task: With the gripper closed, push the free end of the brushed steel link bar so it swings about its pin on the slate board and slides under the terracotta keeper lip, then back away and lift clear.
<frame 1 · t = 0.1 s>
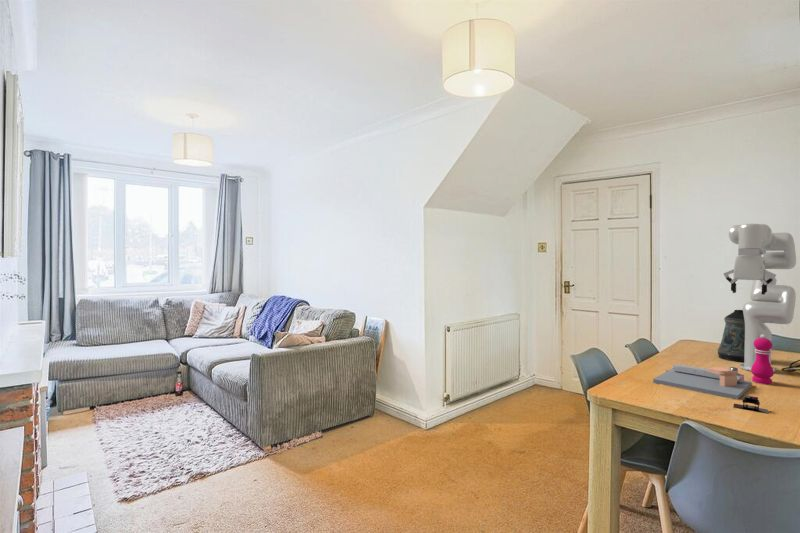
hand: (748, 293, 182), 37 cm above the table, tool pointing down, fingers open, 9 cm apart
slate board: (701, 383, 176), on the table
pepper mill: (761, 382, 179), on the table
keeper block: (733, 385, 175), resting on slate board
dark piece: (750, 410, 148), on the table
steel link: (707, 369, 181), point 4 cm above the table, hinge at 0.0°
beer stein: (739, 359, 219), on the table
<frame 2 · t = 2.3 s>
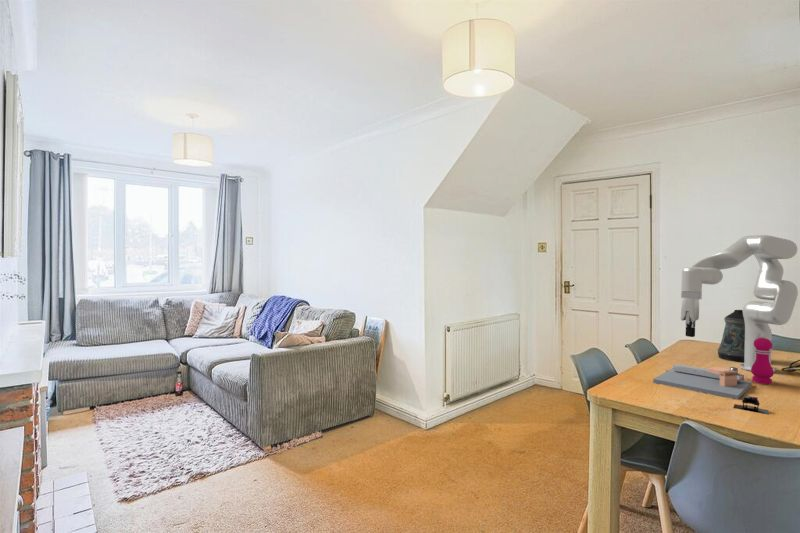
hand: (690, 336, 192), 17 cm above the table, tool pointing down, fingers closed
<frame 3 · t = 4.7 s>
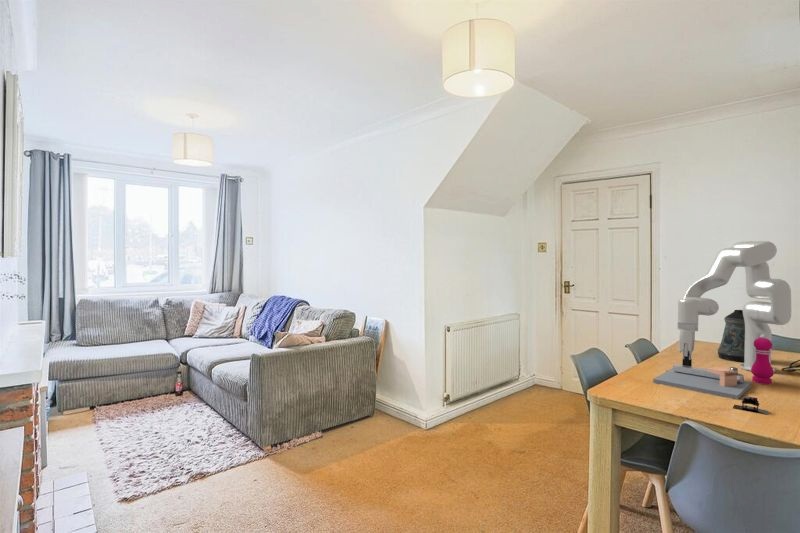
hand: (686, 367, 189), 3 cm above the table, tool pointing down, fingers closed
steel link: (707, 369, 181), point 4 cm above the table, hinge at 2.0°, touching gripper
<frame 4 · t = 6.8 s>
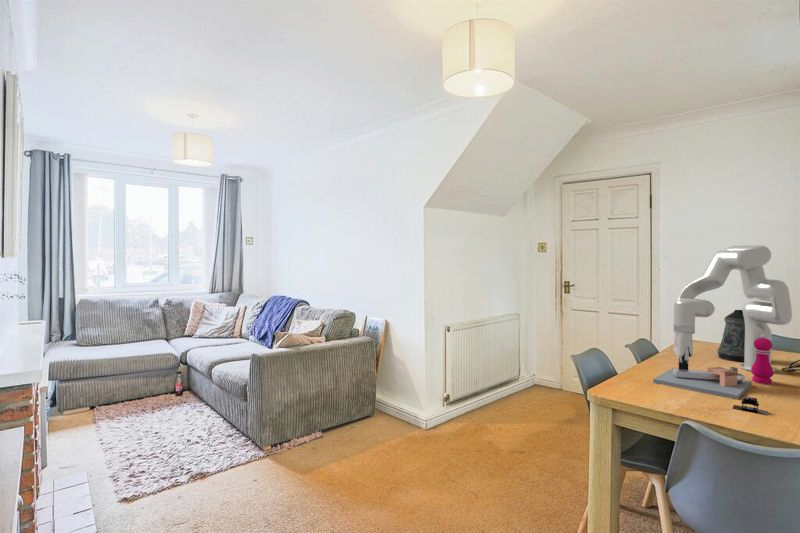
hand: (683, 371, 183), 3 cm above the table, tool pointing down, fingers closed
steel link: (707, 372, 177), point 4 cm above the table, hinge at 29.9°, touching gripper
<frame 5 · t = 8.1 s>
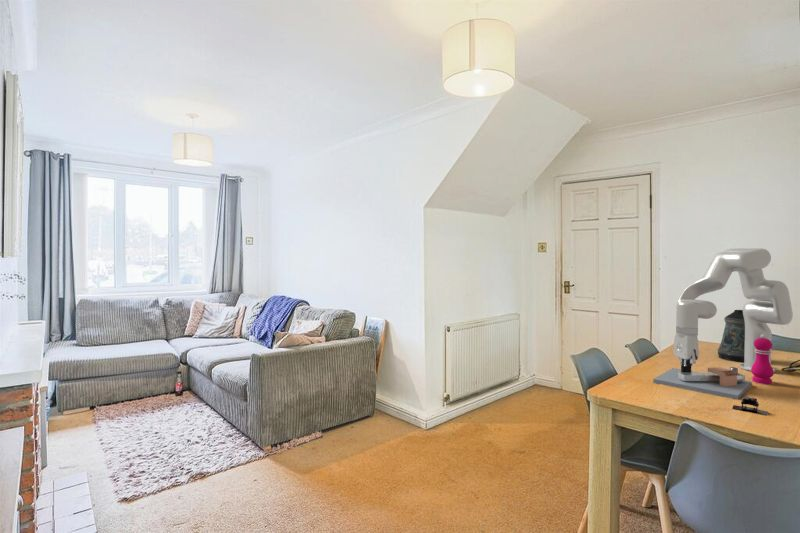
hand: (686, 374, 179), 3 cm above the table, tool pointing down, fingers closed
steel link: (711, 373, 175), point 4 cm above the table, hinge at 46.4°, touching gripper
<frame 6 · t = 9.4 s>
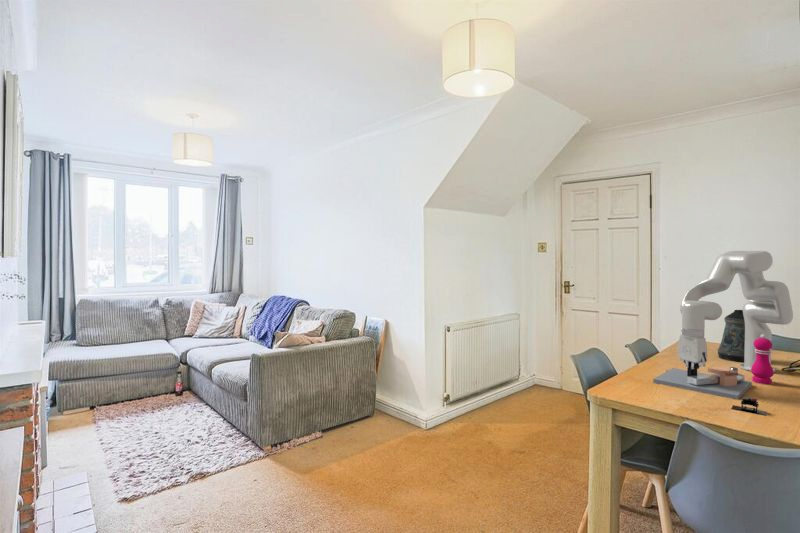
hand: (692, 377, 174), 3 cm above the table, tool pointing down, fingers closed
steel link: (716, 375, 172), point 4 cm above the table, hinge at 61.6°, touching gripper
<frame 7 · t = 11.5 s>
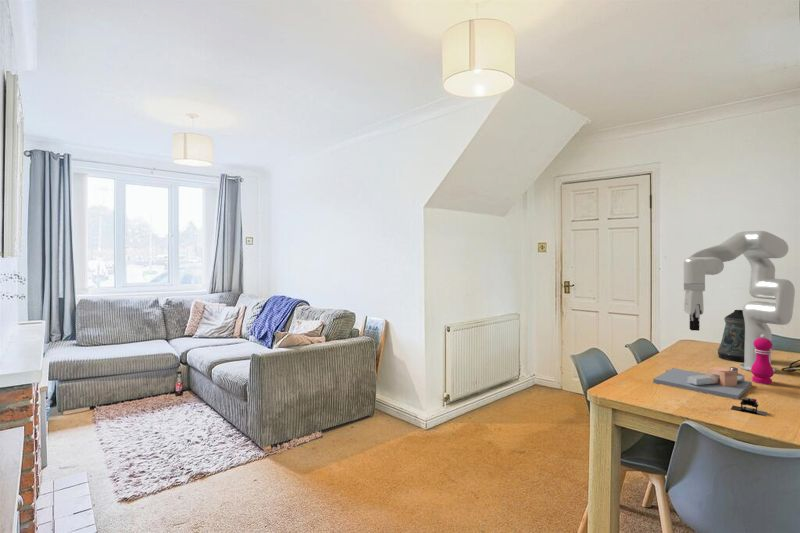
hand: (694, 330, 183), 21 cm above the table, tool pointing down, fingers closed
steel link: (716, 375, 172), point 4 cm above the table, hinge at 61.7°
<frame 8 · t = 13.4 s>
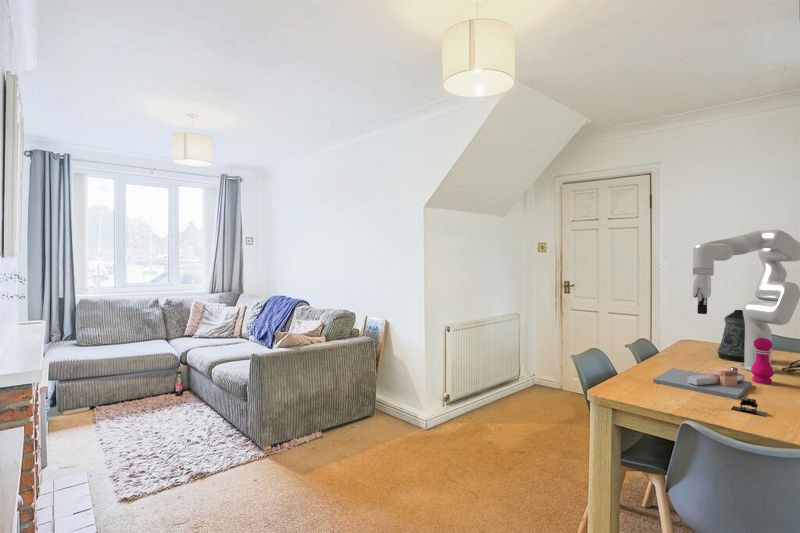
hand: (702, 313, 189), 27 cm above the table, tool pointing down, fingers closed
at the end: steel link at +62° (first picture: +0°) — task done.
